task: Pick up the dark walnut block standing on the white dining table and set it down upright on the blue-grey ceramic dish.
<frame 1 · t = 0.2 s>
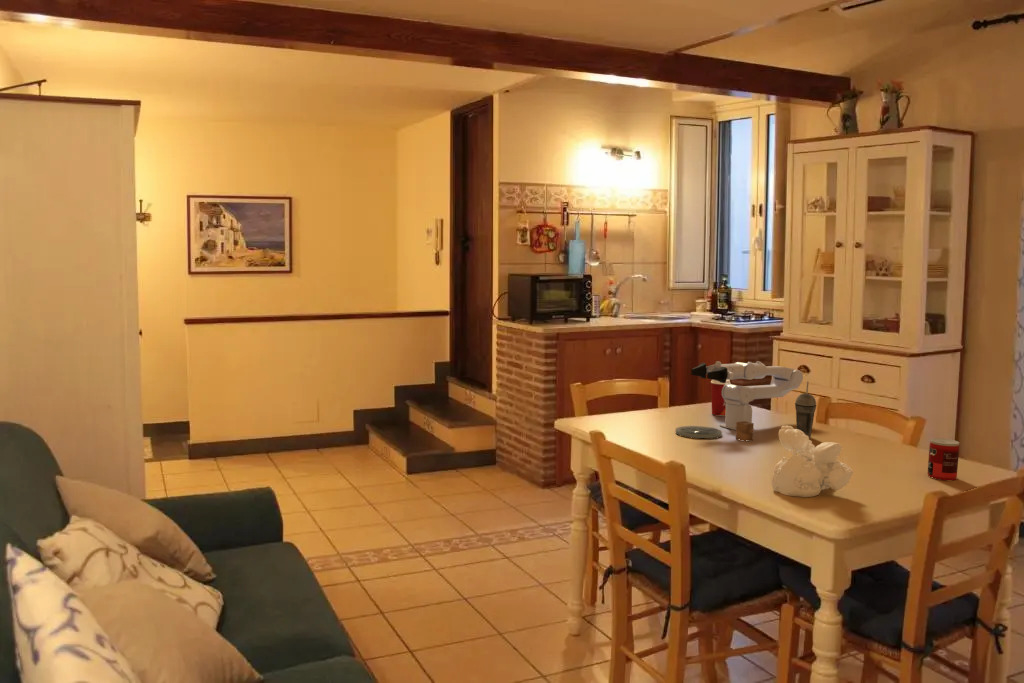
hand: (699, 373, 320), 21 cm above the table, tool horizontal, fingers open, 7 cm apart
beverage cup: (803, 437, 319), on the table
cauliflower: (810, 492, 252), on the table
paper cup: (719, 415, 356), on the table
dish: (698, 433, 321), on the table
walnut block: (744, 439, 314), on the table
canned food: (941, 478, 269), on the table
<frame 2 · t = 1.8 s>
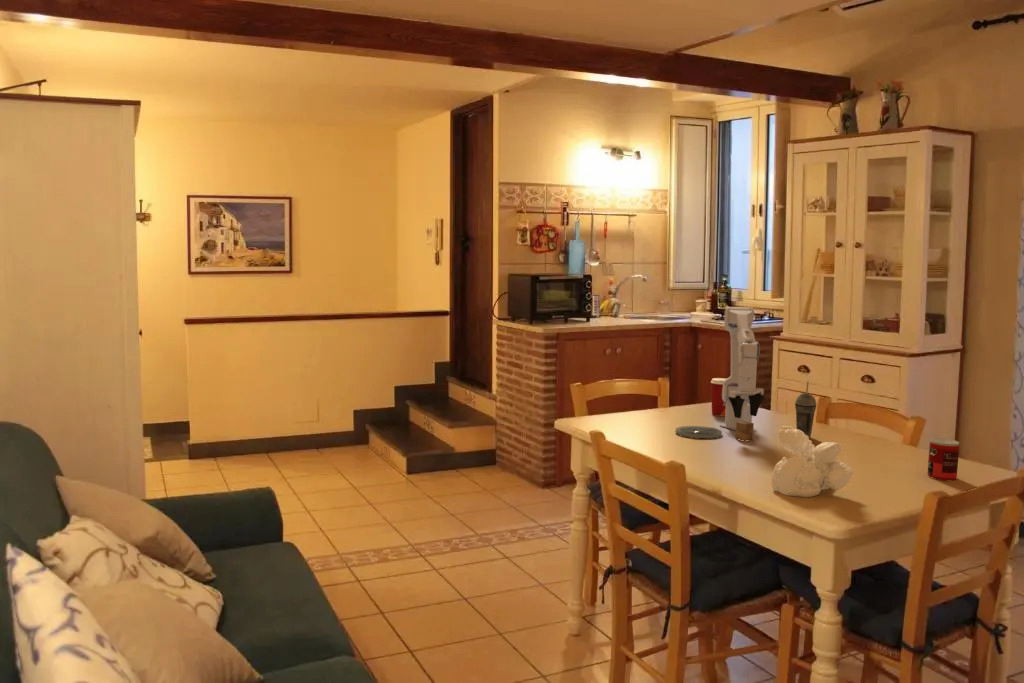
hand: (745, 416, 312), 8 cm above the table, tool pointing down, fingers open, 7 cm apart
nothing on the table moved.
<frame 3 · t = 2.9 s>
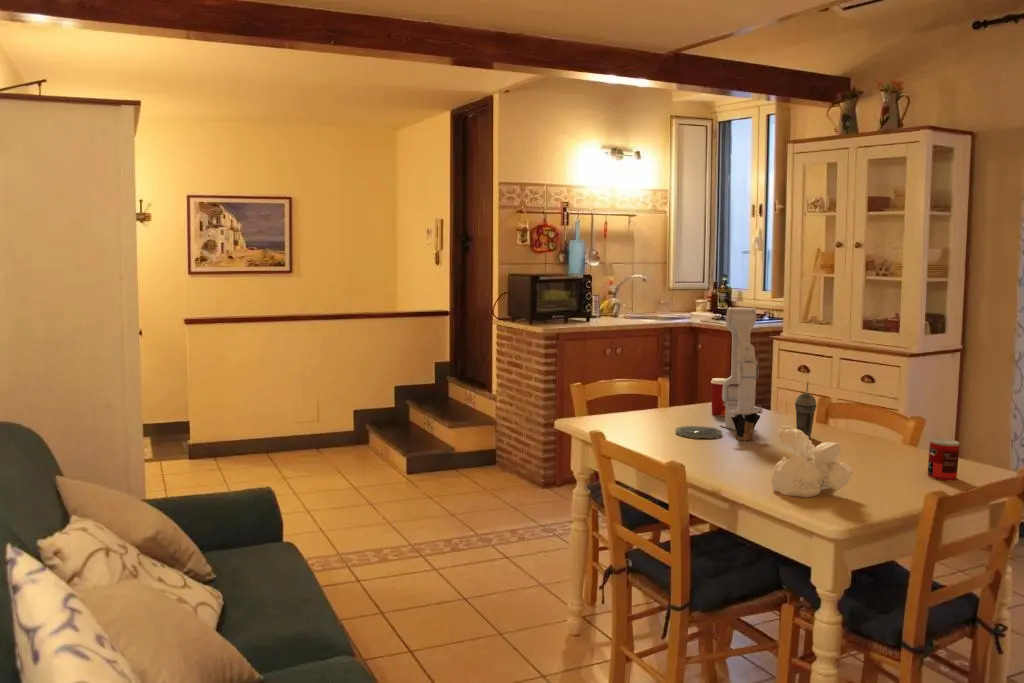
hand: (744, 435, 313), 1 cm above the table, tool pointing down, fingers closed on walnut block, 4 cm apart
walnut block: (744, 439, 314), on the table, touching gripper
everything else where it was.
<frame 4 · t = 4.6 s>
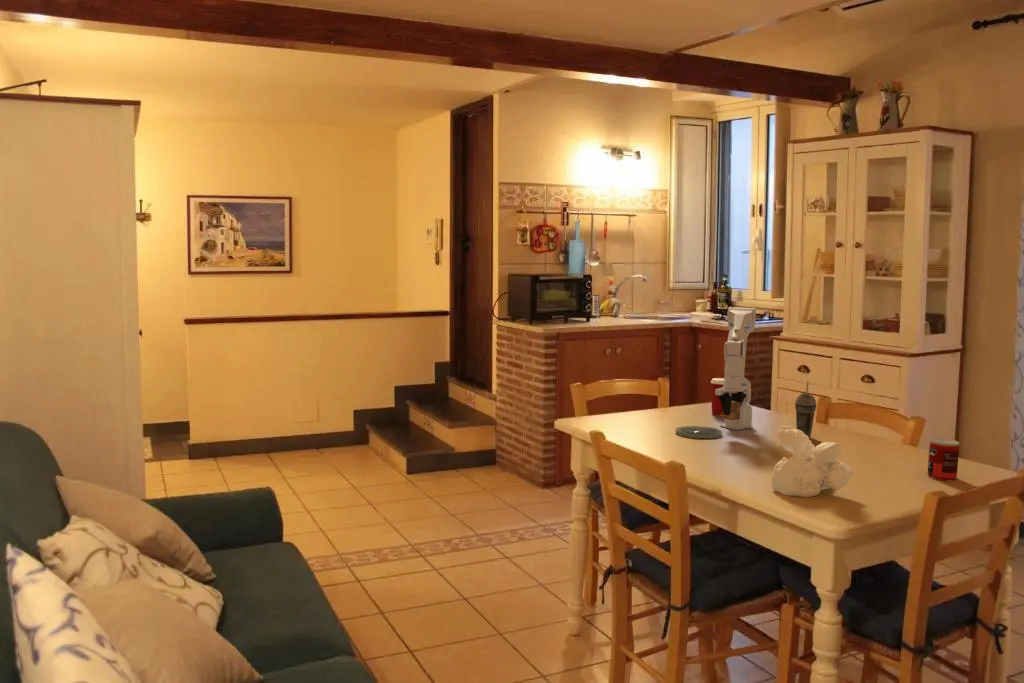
hand: (731, 414, 315), 8 cm above the table, tool pointing down, fingers closed on walnut block, 4 cm apart
walnut block: (731, 418, 315), point 7 cm above the table, touching gripper
everything else where it was.
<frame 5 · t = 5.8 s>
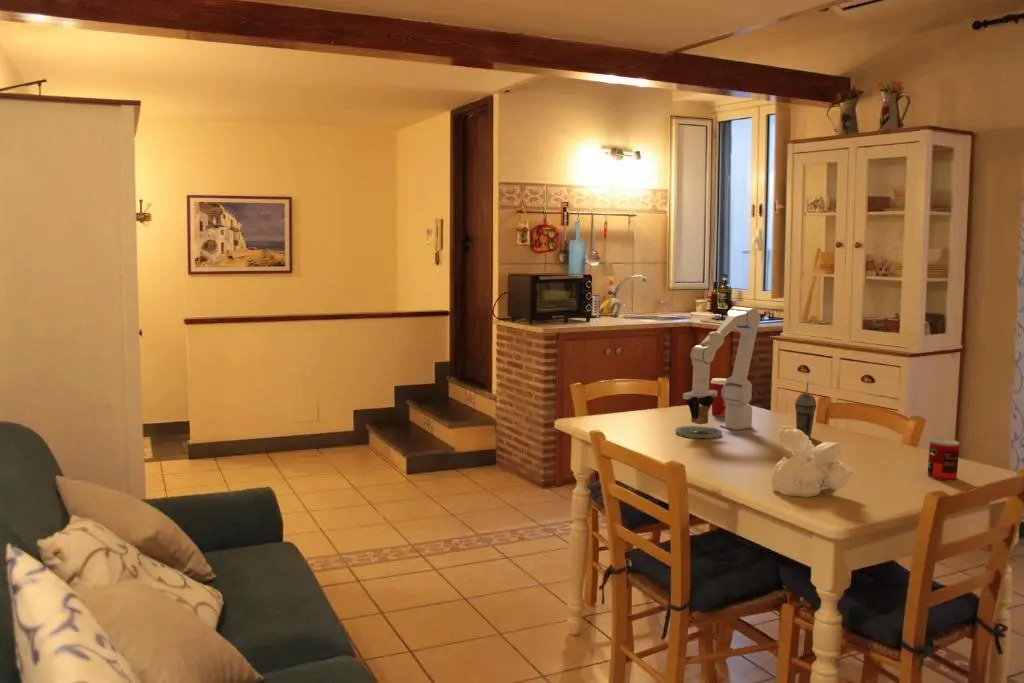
hand: (699, 417, 320), 6 cm above the table, tool pointing down, fingers closed on walnut block, 4 cm apart
walnut block: (699, 422, 320), point 4 cm above the table, touching gripper
everything else where it was.
when the fingers open (3 cm above the table, at t = 6.6 s): walnut block stays where it is, resting on dish.
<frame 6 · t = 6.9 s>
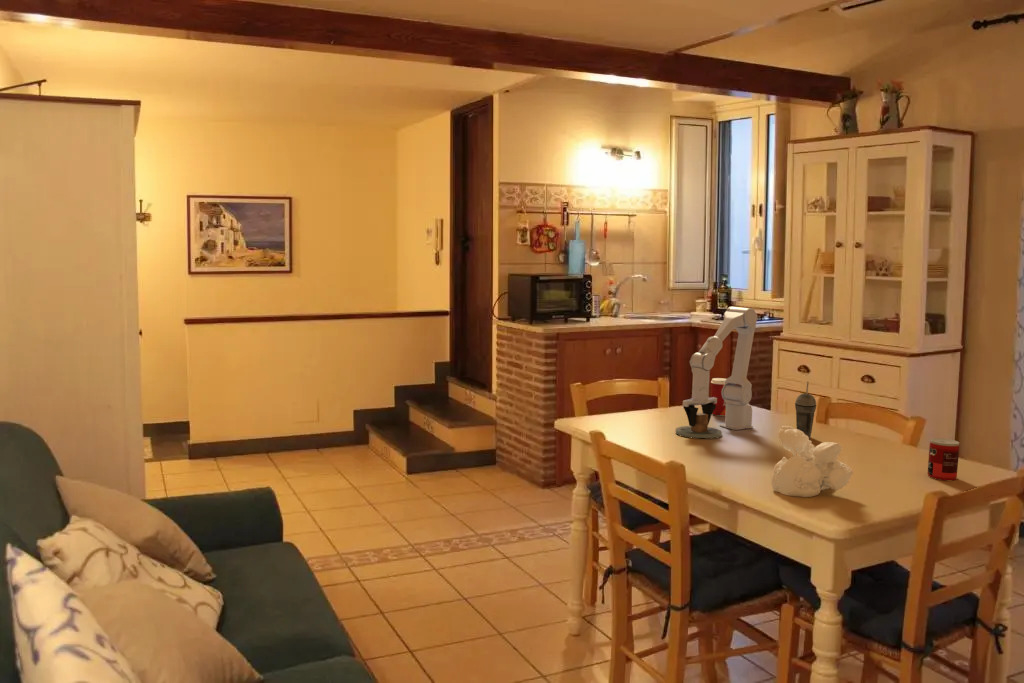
hand: (698, 425, 321), 3 cm above the table, tool pointing down, fingers open, 6 cm apart
walnut block: (699, 430, 321), point 1 cm above the table, touching dish
everything else where it was.
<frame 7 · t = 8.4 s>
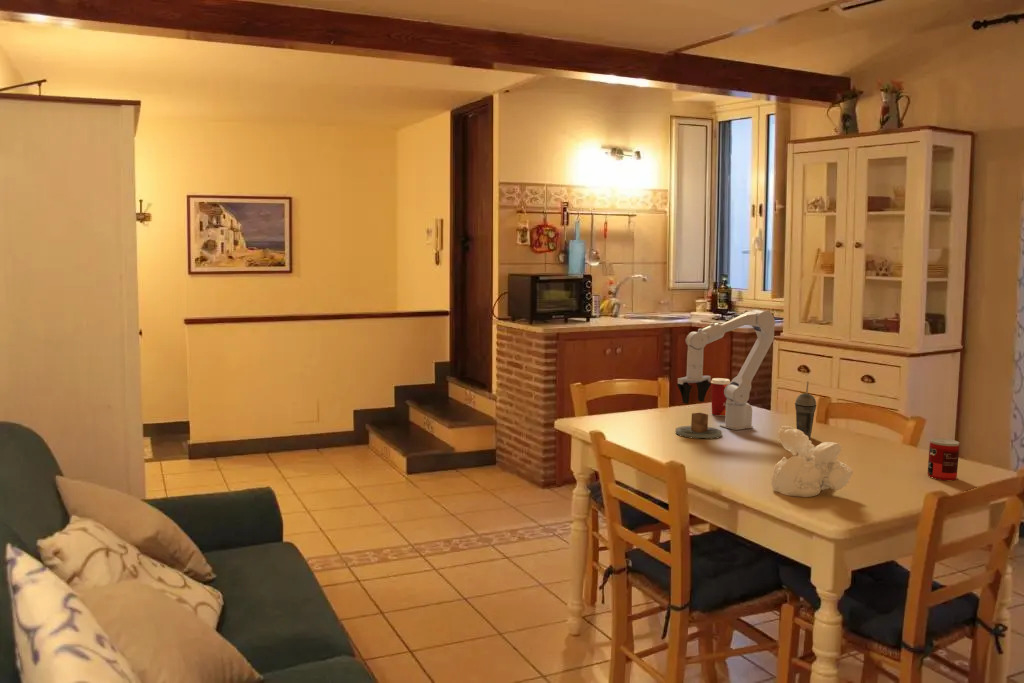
hand: (693, 402, 330), 9 cm above the table, tool pointing down, fingers open, 7 cm apart
nothing on the table moved.
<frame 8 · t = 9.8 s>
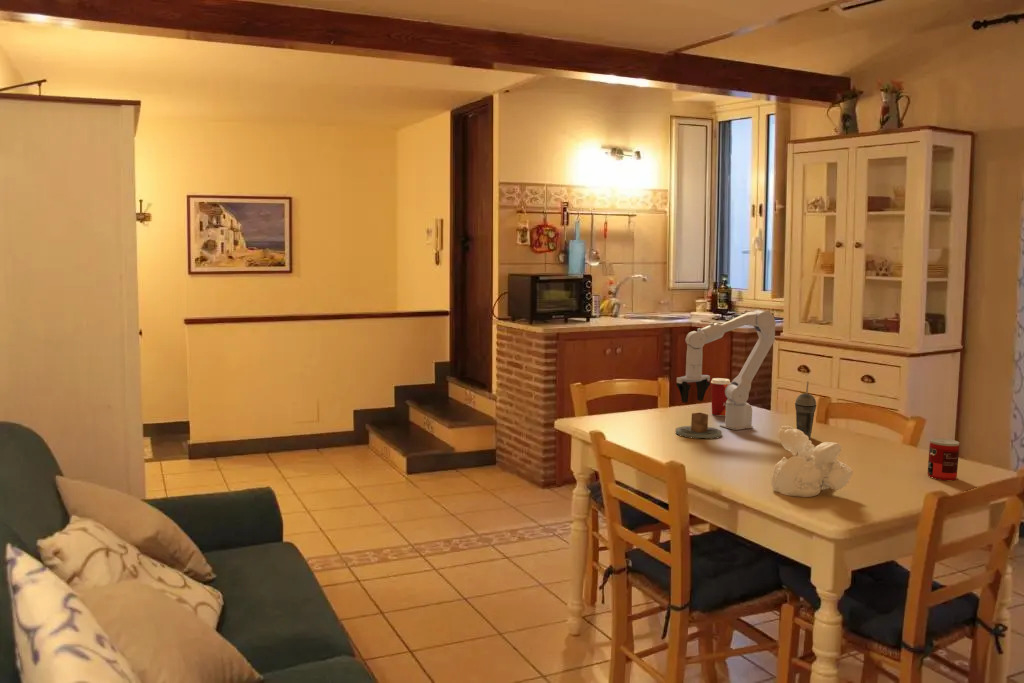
hand: (692, 401, 331), 9 cm above the table, tool pointing down, fingers open, 7 cm apart
nothing on the table moved.
at the end: walnut block inside the target area on the dish (0.3 cm from its centre), point 1.2 cm above the dish's base; walnut block tilted 0°; the gripper is holding nothing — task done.
